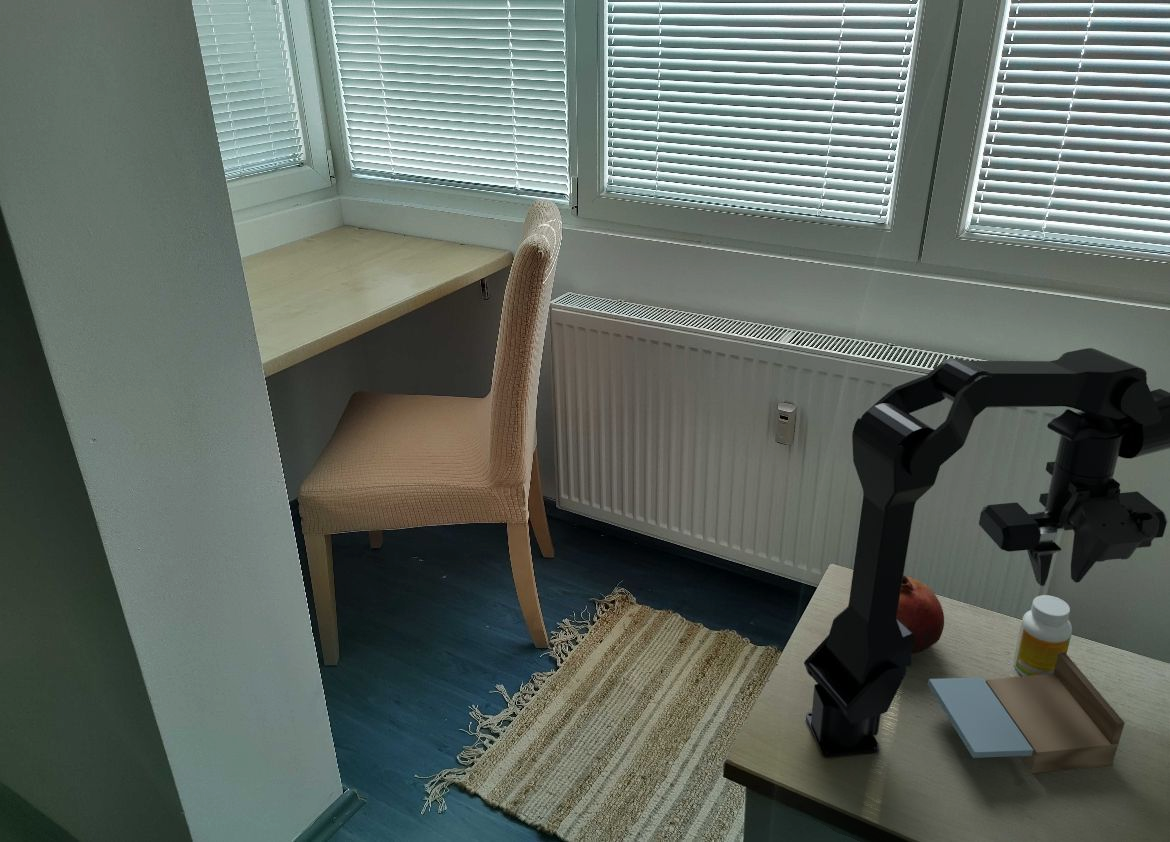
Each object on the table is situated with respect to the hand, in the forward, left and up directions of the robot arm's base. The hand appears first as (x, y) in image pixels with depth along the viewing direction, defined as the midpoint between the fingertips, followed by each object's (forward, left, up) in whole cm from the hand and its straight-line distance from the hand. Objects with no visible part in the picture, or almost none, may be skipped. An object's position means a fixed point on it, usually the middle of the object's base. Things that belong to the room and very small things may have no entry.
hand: (1057, 582), depth 105 cm
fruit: (-15, +7, -13) cm, 21 cm away
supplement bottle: (0, 0, -13) cm, 13 cm away
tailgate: (-9, -9, -10) cm, 17 cm away
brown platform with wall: (-5, -9, -13) cm, 17 cm away
